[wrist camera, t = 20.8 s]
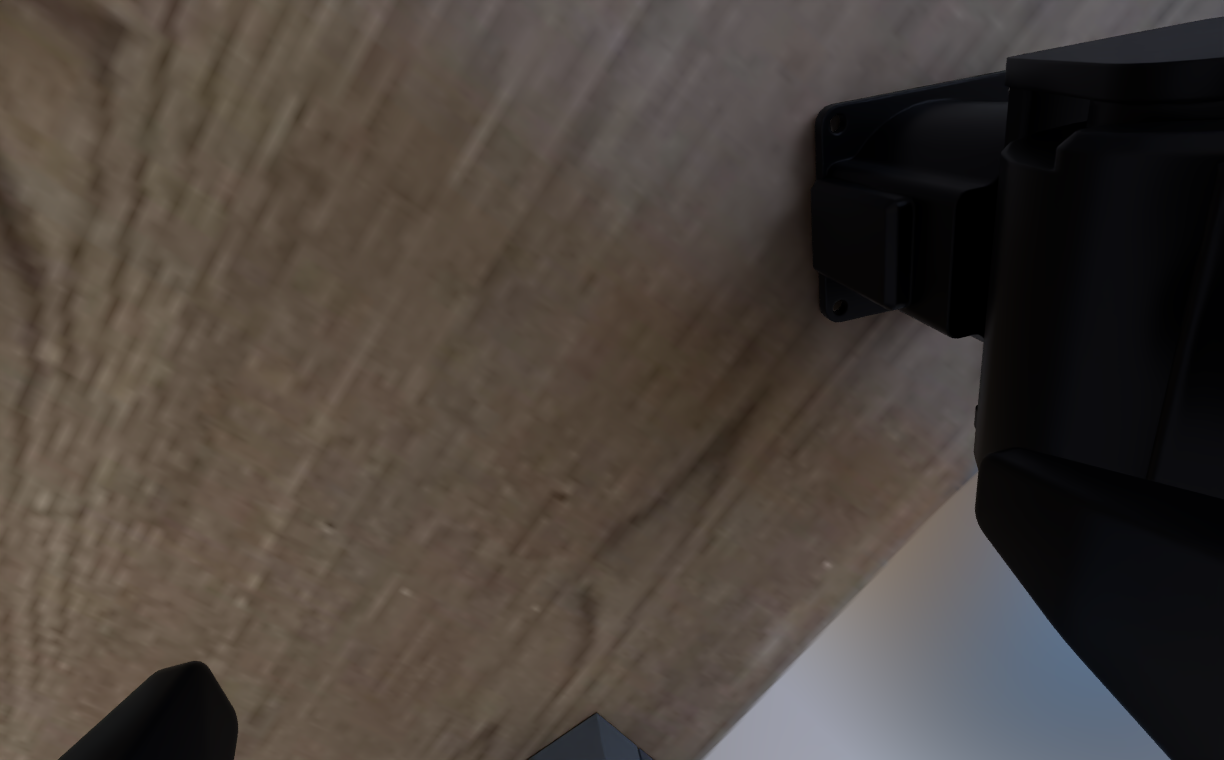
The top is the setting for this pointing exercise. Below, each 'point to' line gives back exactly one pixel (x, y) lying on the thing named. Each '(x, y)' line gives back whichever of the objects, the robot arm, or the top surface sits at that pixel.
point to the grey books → (592, 744)
